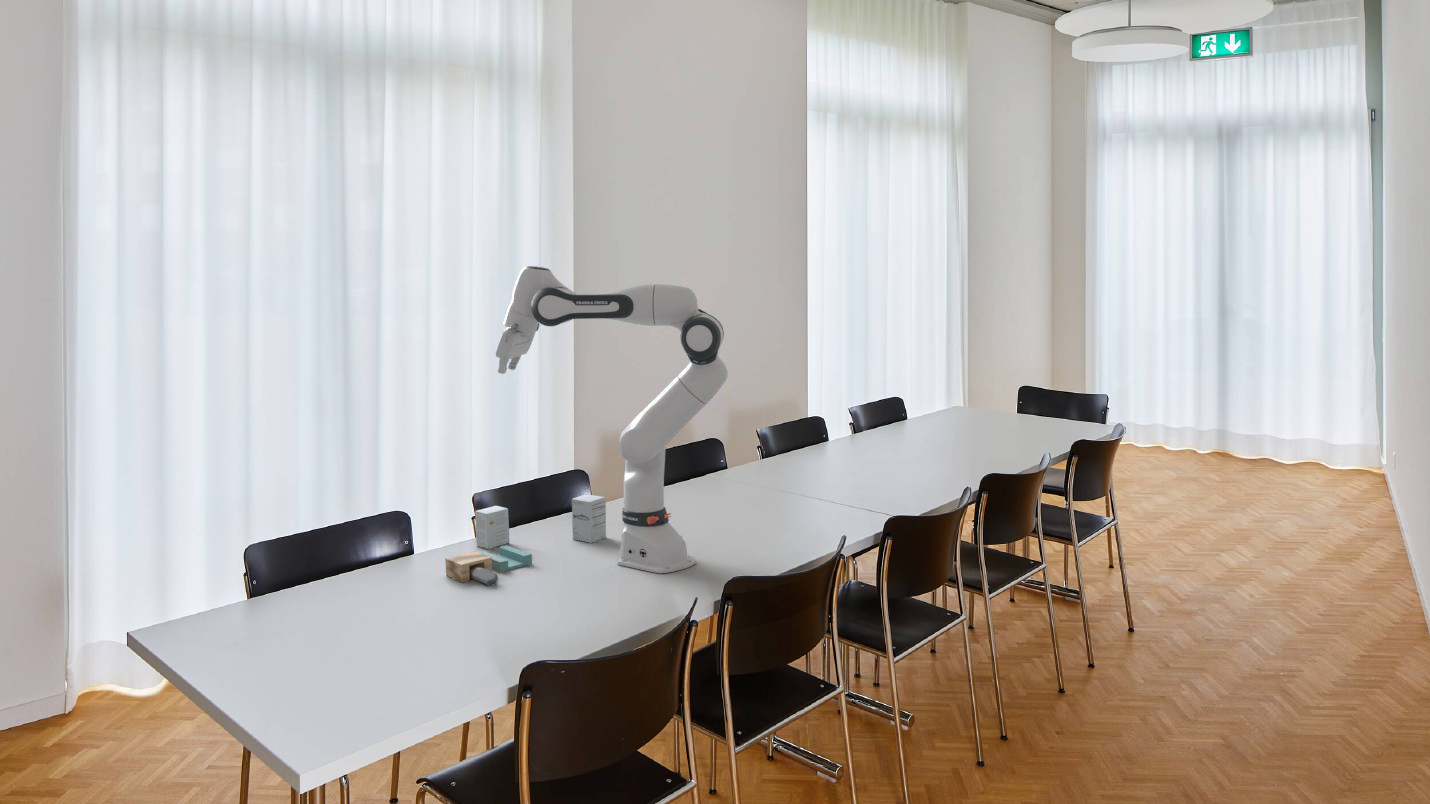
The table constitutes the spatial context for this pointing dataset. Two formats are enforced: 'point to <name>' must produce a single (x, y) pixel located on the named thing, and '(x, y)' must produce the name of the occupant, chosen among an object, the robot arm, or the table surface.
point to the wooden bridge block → (466, 565)
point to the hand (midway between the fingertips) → (506, 371)
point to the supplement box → (589, 518)
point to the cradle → (509, 558)
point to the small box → (492, 527)
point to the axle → (482, 575)
